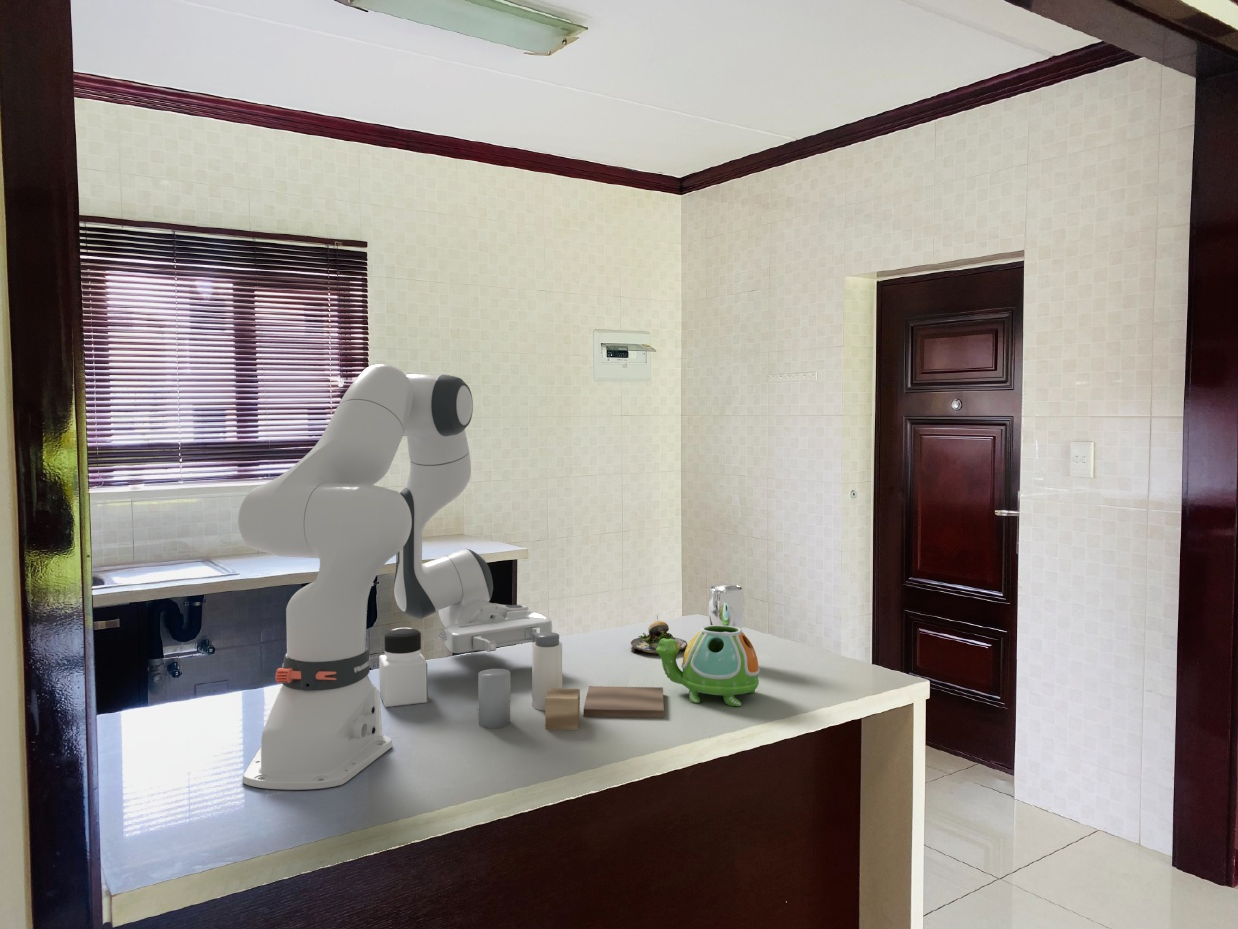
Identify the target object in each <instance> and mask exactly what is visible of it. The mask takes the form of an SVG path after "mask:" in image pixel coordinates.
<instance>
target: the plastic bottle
mask: <svg viewBox="0 0 1238 929" xmlns="http://www.w3.org/2000/svg"><path fill="white" fill-rule="evenodd" d="M531 646H532V647H531V648H532V650H531V652H532V653H531V659H532V660H531V664H532V666H531V668H532V670H531V671H532V672H531V674H532V676H531V679H532V680H531V681H532V682H531V685H532V688H531V690H532V691H531V692H532V693H531V696H532V697H531V698H532V699H531V701H532V702H531V703H532V704H531V706H532V708H533V709H535V710H538V711H545V698H546V695H547V692H548V690H549V688H563V643H562V642H561V641H560V634H559V633H558V632H553V631H552V632H543V633H538V634H536V635H535V642H534V643H532V644H531Z"/></svg>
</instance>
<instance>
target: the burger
mask: <svg viewBox="0 0 1238 929" xmlns="http://www.w3.org/2000/svg"><path fill="white" fill-rule="evenodd" d="M656 620H657V621H654V622H653V623H651V624H650V625H649V626H648V628H647V632H648V634H646V633H644V632H642V634H643V635H638V637H637V638H634V639H632V640H631V641H630V644H631V645H630V646H631V648H630V649H631V650H630V652H631V653H632V654H635V650H638V651H641V652H645V653H648V654H658V653H657V651H656V648H658V644H659V642H660V640H661V639H662V638H665V639H673V640H675V641H676V643H677V646H678V648H679V651H681V650H683V649H684V650H686V648H687V645H688V642H687V641H686V640H685V639H681V638H678V637H674V636H673V635H672V633H670V632H668V631H669V629H670V627H669V625H668V623H666V622H665V621H662V620H659V619H658V616H656ZM658 620H659V621H658Z"/></svg>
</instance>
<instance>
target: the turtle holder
mask: <svg viewBox="0 0 1238 929" xmlns="http://www.w3.org/2000/svg"><path fill="white" fill-rule="evenodd" d="M742 629H743V628H742ZM742 629H741V628H738V627H733V626H724V625H710V624H709V625H705V626H703V627H701V628H700V629H699V630H700V631H699V632H698V633H697V634H695V635H694V637H692V638H691V640H690V641H689V642H688V643H687V648H686V649H684V654H683V657H682V663H681V668H682V670H681V669H680V667H679V666H678V662H677V658H678V655H679V652H680V650H679V648H678V646H677V643H676V641H675V640H673V639H665V638H662V639H661V640H660V642H659V644H658V648H656V651H657V653H656V654H658V656H659V657H660V658H661V665H662V668H663V671H664V675H666V677H667V678H668V679H669V680H670V682H673V683H676V684H678V685H682V686H683V687H685V688H686V689H688V690H689V691H688V698H689V701H690V702H691V703H693V704H694V703H695V704H699V703H701V698H700V697H699V693H702V694H708V695H713V696H723V697H722V698H723V700H724V703H725V704H726V705H728V706H731V707H740V706H742V702H741V701H740V700H739V699H738V698H736V696H735V695H744V694H755V693H756V689H758V686H759V683H760V680H759V674H760V671H761V670H760V669H761V668H760V666H759V661H758V660H759V659H758V657H757V656H758V655H757V654H756V650H755V648H754V645H753V644H752V642H751V640H750V639H749V638H748V637H747V635H746V634H745V633H744V632H743V630H742ZM722 632H729V633H722Z"/></svg>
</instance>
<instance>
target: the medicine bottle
mask: <svg viewBox="0 0 1238 929" xmlns="http://www.w3.org/2000/svg"><path fill="white" fill-rule="evenodd" d="M421 634H422V633H421V632H420V630H418V629H416V628H413V627H398V628H393V629H391V630H389V631H386V633H385V634H384V635H383V636H384V654H380V655H379V658H378V662H379V664H378V666H379V667H378V668H379V669H378V670H379V677H378V678H379V694H380V699H381V700H382V703H383V705H384V707H385V708H391V707H401V706H409V705H416V704H417V705H418V704H425V703H426V704H427V702H428V661H427V660H426V658H425V656H423V654H422V635H421Z"/></svg>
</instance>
